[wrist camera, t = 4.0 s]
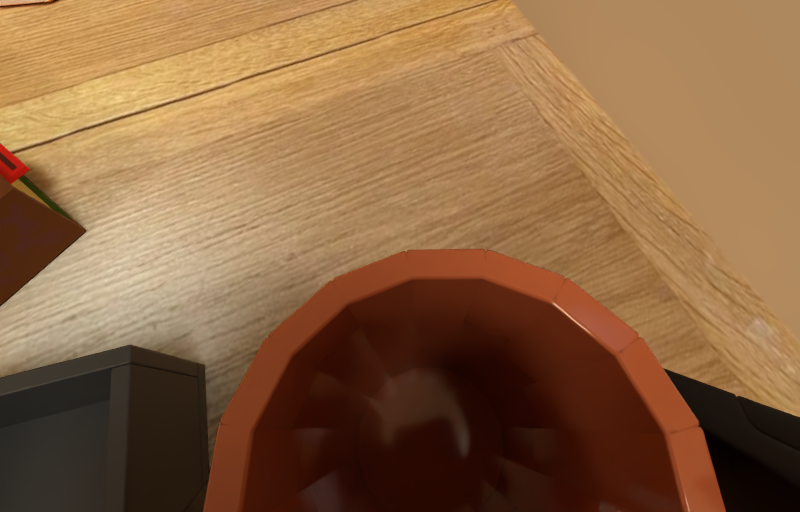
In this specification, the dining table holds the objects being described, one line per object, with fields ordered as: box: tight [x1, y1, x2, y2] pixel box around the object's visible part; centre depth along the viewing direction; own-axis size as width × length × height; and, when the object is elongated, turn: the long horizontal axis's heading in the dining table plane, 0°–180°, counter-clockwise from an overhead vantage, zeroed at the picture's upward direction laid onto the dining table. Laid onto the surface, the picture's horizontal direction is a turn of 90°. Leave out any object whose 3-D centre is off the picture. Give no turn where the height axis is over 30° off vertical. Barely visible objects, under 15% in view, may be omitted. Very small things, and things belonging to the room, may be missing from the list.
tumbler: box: [203, 249, 726, 512], centre depth 10 cm, size 6×6×11 cm
